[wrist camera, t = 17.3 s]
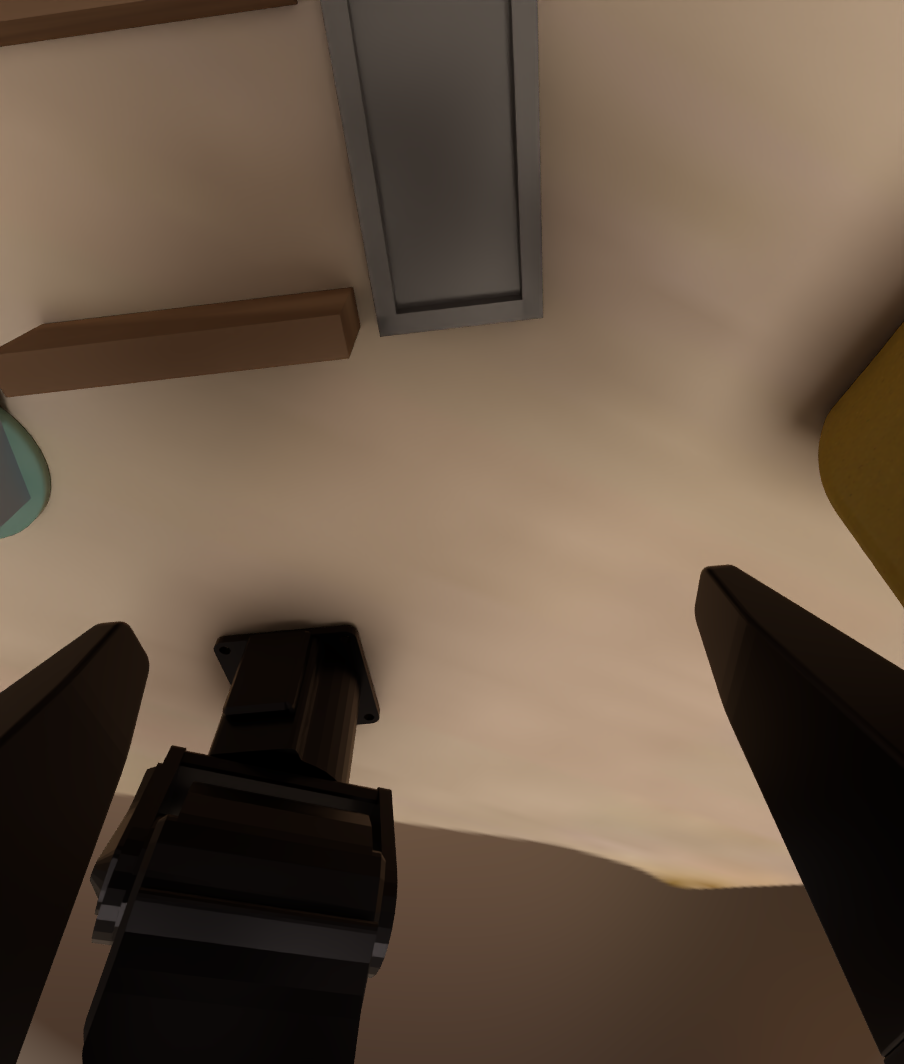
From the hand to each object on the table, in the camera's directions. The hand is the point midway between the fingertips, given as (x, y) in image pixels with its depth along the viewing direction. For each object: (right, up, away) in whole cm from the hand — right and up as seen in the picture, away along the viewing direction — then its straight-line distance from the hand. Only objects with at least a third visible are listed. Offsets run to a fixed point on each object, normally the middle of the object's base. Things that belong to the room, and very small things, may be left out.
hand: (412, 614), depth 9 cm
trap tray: (0, +12, +7) cm, 14 cm away
